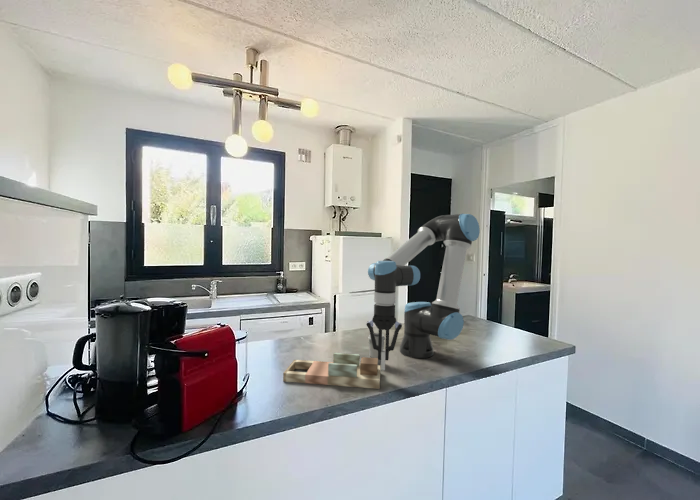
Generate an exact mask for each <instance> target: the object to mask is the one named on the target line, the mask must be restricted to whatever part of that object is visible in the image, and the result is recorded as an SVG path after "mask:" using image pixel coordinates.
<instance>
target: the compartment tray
mask: <svg viewBox="0 0 700 500" xmlns="http://www.w3.org/2000/svg"><path fill="white" fill-rule="evenodd" d="M332 356H333V358H332V359H333V360H332V361H320V360H319V361H318V360H308V359H307V360H305V359H293V360H292V361H291V363H289V365H288V367H287V368H286V369H285V370H284V371H283V374H282V375H283V377H282V378H283V379H282V381H283V382H287V383H300V384H311V385H324V386H325V385H326V386H338V387H351V388H365V389H377V390H378V389H380V384H381V365H378V370H377V376H375V375H361V374H360V363H361V359H360V356H361V355H360V354H359V353H342V352H341V353H340V352H333V355H332Z"/></svg>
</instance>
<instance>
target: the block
mask: <svg viewBox="0 0 700 500" xmlns="http://www.w3.org/2000/svg"><path fill="white" fill-rule="evenodd" d="M377 370H378V358H370V357H367V356H366V357H365V356H363V357H361V359H360V374H361V375H375V376H377Z"/></svg>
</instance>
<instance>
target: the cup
mask: <svg viewBox="0 0 700 500" xmlns="http://www.w3.org/2000/svg"><path fill="white" fill-rule="evenodd" d="M374 335H375V340H376V344H377V345H378V337H379V332H374ZM367 339H368V349H369V350H368V352H369V354H368V355H369V358H378V351H377V350H376V349H373V345H372V340H371V336H370V333H369V335H368V336H367ZM385 341H386V336H385V335H384V334H383V333H382V350H384V346H385ZM378 365H380V366H381V360H378Z"/></svg>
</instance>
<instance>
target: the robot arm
mask: <svg viewBox="0 0 700 500" xmlns="http://www.w3.org/2000/svg"><path fill="white" fill-rule="evenodd" d="M479 237H480V225H479V221H478V219H477V218H476V216H474V215H473V214H471V213H457V214H444V215H443V214H442V215H439V216H436V217H434V218H432V219H431V220H428V221H427V222H426V223H424V224H423V225H422V226H420V227H419V228H418V229H417V232H416V233H415V234H414V235H413V236H411V237H410V238H409V239H408V240H406V241H405V242H404V243H403V244H401V245H400V246H399V247H398V248H397V249H395V250H394V251H392V253H391V254H389V255H388V256H386V257H385V258H384V259H383V260H377V261H376V262H374V263H371V264H370V265H369V266H368V269H367V275H368V278H369V279H371V280H372V281H374V291H373V293H374V299H373V301H374V305H373V317H372V319H371V320H368V321H367V322H366V324H365V325H366V327H367V328H368V330H369V334H370V336H371V340H372V345H373V349H376V350H377V351H378V360H381V365H380V371H386V361H389V359H390V357H389V353H390V351H394V350H395V346H396V344H397V341H398V340H397V339H398V337H399V334H400V333H399V331H400V330H401V329H402V328H403V327H404V330H403V332H404V333H403V337H402V340H401V343H400V346H399V352H400V353H401V354H402V355H404V356H406V357H409V358H415V359H426V358H432V357H433V356H434V353H435V351H434V350H435V349H434V346H433V342H432V340H431V336H435V337H437V338H440V339H443V340H449V341H451V340H455V339H457V337H458V336H459V335H460V334H461V332H463V331H462V330H463V329H464V324H465V321H464V317H463V314H461V313H460V307H459V305H458V299H459V293H460V290H461V289H460V288H461V282H462V277H463V272H464V266H465V261H466V256H467V250H468V249H470V248H471V247H472V243H473V242H474V241H476V240H478V239H479ZM441 241H443V244H444V246H445V251H444V257H443V261H442V268H441V273H440V278H439V284H438V289H437V294H436V298H435V300H434V301H432V302H429V301H428V302H427V301H416V302H415V301H412V302H408V303H406V304H405V305H404V313H403V314H404V324H402V323H401V322H399V321H397V318H396V305H395V304H396V293H397V292H396V289H397V287H404V286H405V287H406V286H409V287H411V286H414V285H417V284H418V283H419V281H420V279H421V271H420V269H419V268H418V267H417V266H416V265H411V264H409V265H407V264H408V263H409V262H411V261H412V260H413V259H415V257H416V256H417V255H419V254H420V253H421V252H422V251H423V250H425V249H426V248H427V247H428V246H432V245H434V244H435V243H436V242H441ZM403 325H404V326H403ZM374 326H375V327H376V328H377V329H378V333H379V337H378V345H377V344H376V340H375V335H374V333H375V331H374ZM393 327H394V332H393V336H392V338H391V339H392V340H391V344H390V330H391V329H392V328H393ZM383 330H385V345H384V346H385V349H383V350H382V334H383Z"/></svg>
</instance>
